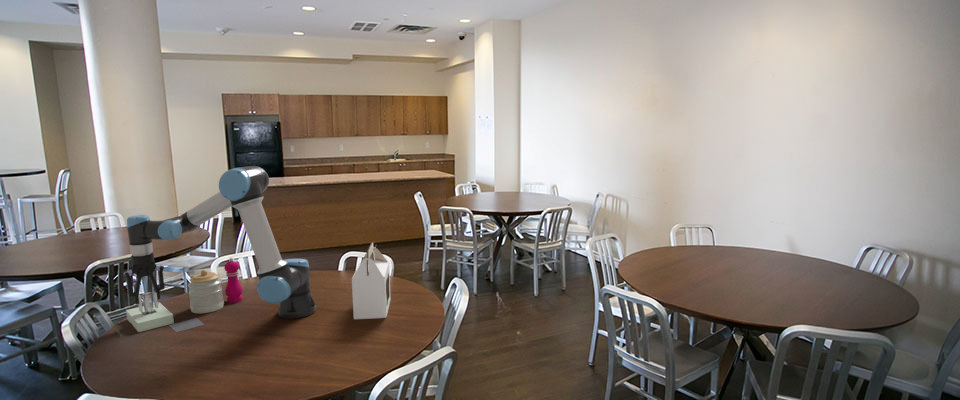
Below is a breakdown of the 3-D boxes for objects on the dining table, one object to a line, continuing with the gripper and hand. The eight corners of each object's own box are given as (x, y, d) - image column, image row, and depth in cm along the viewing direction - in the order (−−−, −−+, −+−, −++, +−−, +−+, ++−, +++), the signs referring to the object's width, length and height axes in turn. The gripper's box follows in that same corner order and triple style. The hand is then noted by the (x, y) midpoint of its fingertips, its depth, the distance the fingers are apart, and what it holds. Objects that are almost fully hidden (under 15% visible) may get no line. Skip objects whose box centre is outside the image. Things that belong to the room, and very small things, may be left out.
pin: (156, 321, 200) (152, 293, 199) (146, 323, 198) (143, 295, 196) (153, 319, 203) (150, 291, 201) (144, 321, 200) (141, 293, 199)
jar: (194, 317, 205) (190, 276, 202) (187, 308, 215) (183, 269, 212) (228, 309, 213) (224, 270, 211) (220, 301, 223) (216, 263, 220)
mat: (204, 325, 196) (204, 324, 196) (176, 333, 189) (176, 332, 189) (196, 318, 203) (196, 317, 203) (169, 326, 196) (168, 325, 196)
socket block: (174, 323, 198) (172, 314, 197) (138, 333, 189) (137, 323, 189) (160, 311, 212) (159, 302, 211) (127, 319, 203) (126, 310, 202)
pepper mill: (236, 303, 220) (232, 260, 217) (222, 302, 221) (218, 259, 218) (247, 298, 227) (243, 256, 224) (233, 297, 228) (229, 255, 225)
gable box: (386, 318, 201) (383, 252, 197) (353, 320, 200) (350, 253, 196) (390, 299, 223) (388, 239, 219) (361, 300, 222) (358, 240, 218)
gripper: (165, 247, 205) (171, 301, 208) (113, 256, 192) (120, 312, 196) (170, 251, 200) (176, 305, 203) (117, 259, 187) (124, 317, 191)
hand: (148, 309), depth 200 cm, fingers open, 5 cm apart
